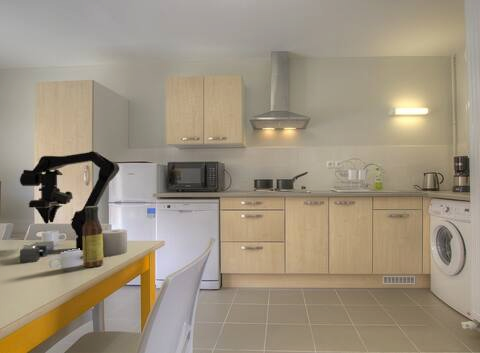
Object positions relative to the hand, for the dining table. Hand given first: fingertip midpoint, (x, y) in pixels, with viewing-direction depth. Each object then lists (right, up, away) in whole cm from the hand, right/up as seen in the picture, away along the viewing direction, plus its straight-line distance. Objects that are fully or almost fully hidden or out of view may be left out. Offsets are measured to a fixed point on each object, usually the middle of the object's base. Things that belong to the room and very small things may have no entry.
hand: (49, 222), depth 130 cm
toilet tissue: (+30, -11, -9) cm, 33 cm away
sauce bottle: (+31, -11, -26) cm, 42 cm away
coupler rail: (+4, -11, -15) cm, 19 cm away
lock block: (+3, -11, -9) cm, 15 cm away
